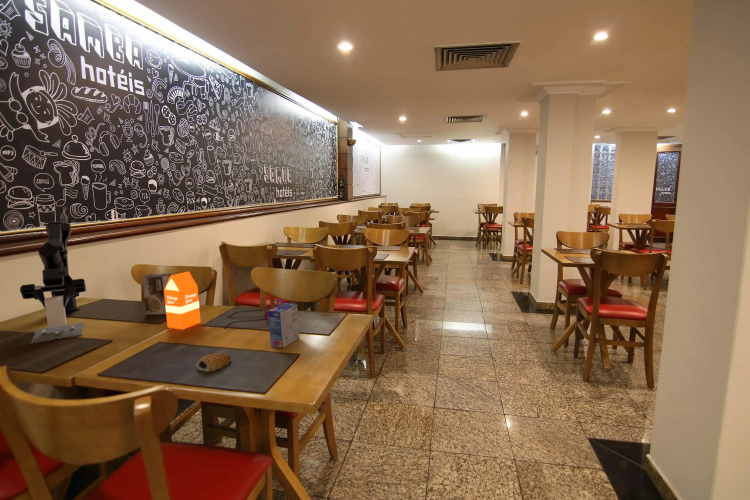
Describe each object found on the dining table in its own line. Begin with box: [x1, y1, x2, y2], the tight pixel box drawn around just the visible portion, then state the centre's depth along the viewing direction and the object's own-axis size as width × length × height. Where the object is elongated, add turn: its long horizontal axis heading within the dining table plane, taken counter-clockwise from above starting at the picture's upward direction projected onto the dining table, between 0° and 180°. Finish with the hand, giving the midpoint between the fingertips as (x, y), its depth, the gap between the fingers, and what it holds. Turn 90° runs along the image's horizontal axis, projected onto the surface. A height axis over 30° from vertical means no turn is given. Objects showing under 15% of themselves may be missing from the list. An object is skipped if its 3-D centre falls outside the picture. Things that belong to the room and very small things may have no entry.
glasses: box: [223, 304, 271, 330], centre depth 160 cm, size 14×16×5 cm
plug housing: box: [44, 296, 68, 328], centre depth 149 cm, size 5×5×10 cm
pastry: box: [195, 352, 232, 373], centre depth 120 cm, size 9×7×4 cm
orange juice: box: [164, 271, 201, 330], centre depth 156 cm, size 8×9×20 cm
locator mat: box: [30, 322, 84, 344], centre depth 150 cm, size 16×14×1 cm
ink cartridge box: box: [267, 298, 300, 349], centre depth 136 cm, size 10×6×14 cm, turn 158°
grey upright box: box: [142, 273, 172, 315], centre depth 173 cm, size 9×6×16 cm
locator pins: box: [42, 325, 74, 336], centre depth 148 cm, size 5×9×2 cm, turn 123°
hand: (55, 307), depth 148 cm, fingers closed on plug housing, 5 cm apart
